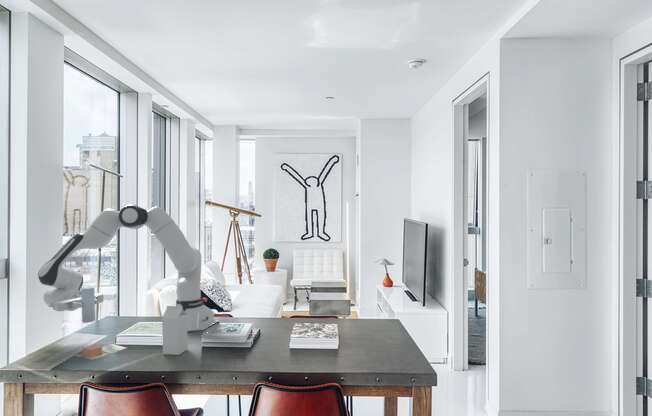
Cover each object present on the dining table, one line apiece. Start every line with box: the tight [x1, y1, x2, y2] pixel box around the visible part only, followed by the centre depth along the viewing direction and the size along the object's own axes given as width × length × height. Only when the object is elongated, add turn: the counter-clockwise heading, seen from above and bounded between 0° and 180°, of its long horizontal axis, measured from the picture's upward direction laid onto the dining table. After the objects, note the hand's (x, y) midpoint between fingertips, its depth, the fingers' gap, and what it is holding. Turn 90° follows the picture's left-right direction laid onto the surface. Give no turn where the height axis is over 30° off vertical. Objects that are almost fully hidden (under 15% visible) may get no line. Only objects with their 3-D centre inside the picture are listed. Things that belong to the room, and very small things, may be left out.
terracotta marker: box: [82, 343, 103, 357], centre depth 180 cm, size 5×5×3 cm
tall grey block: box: [80, 286, 96, 324], centre depth 191 cm, size 5×5×14 cm
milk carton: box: [161, 305, 188, 356], centre depth 185 cm, size 7×7×19 cm
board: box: [74, 343, 127, 361], centre depth 184 cm, size 16×11×1 cm
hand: (89, 303), depth 191 cm, fingers closed on tall grey block, 5 cm apart
